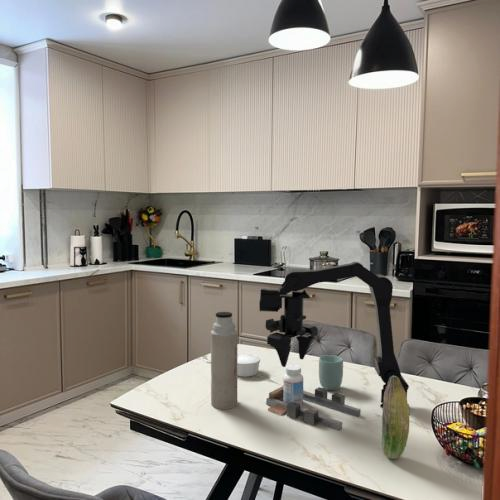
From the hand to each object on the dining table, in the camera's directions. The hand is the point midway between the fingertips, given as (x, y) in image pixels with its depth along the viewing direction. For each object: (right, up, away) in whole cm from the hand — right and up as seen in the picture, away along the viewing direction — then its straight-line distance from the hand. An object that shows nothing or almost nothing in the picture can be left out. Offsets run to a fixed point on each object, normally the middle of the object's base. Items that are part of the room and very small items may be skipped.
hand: (292, 362), depth 138 cm
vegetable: (+21, -16, -30) cm, 40 cm away
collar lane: (+5, -13, -3) cm, 15 cm away
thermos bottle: (-21, -13, +1) cm, 24 cm away
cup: (+14, -12, +13) cm, 22 cm away
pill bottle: (0, -13, +1) cm, 13 cm away
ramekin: (-15, -11, +27) cm, 33 cm away
